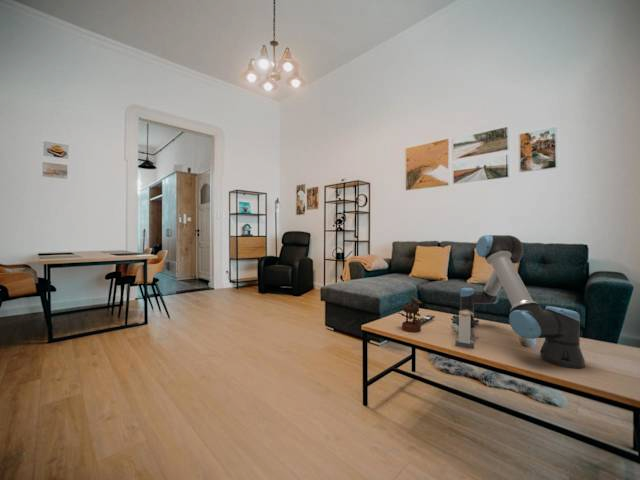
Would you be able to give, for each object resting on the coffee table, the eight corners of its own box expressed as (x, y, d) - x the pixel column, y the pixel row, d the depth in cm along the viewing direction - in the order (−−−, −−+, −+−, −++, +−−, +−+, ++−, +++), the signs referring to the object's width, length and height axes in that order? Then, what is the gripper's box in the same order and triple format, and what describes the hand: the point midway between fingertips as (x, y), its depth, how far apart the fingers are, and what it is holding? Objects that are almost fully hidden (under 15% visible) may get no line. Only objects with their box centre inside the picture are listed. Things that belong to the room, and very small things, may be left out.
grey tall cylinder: (458, 338, 145) (459, 310, 145) (470, 340, 143) (470, 311, 143) (458, 341, 141) (458, 312, 141) (470, 343, 138) (470, 314, 138)
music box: (426, 330, 166) (426, 296, 165) (418, 336, 158) (417, 300, 157) (403, 324, 177) (402, 292, 176) (393, 329, 169) (393, 296, 168)
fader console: (457, 335, 157) (457, 331, 157) (473, 338, 154) (473, 334, 154) (455, 345, 142) (455, 341, 142) (473, 348, 138) (473, 344, 138)
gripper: (479, 325, 162) (479, 338, 141) (453, 322, 168) (450, 333, 147) (479, 312, 162) (479, 323, 141) (454, 309, 168) (450, 319, 147)
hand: (464, 328), depth 144 cm, fingers closed
